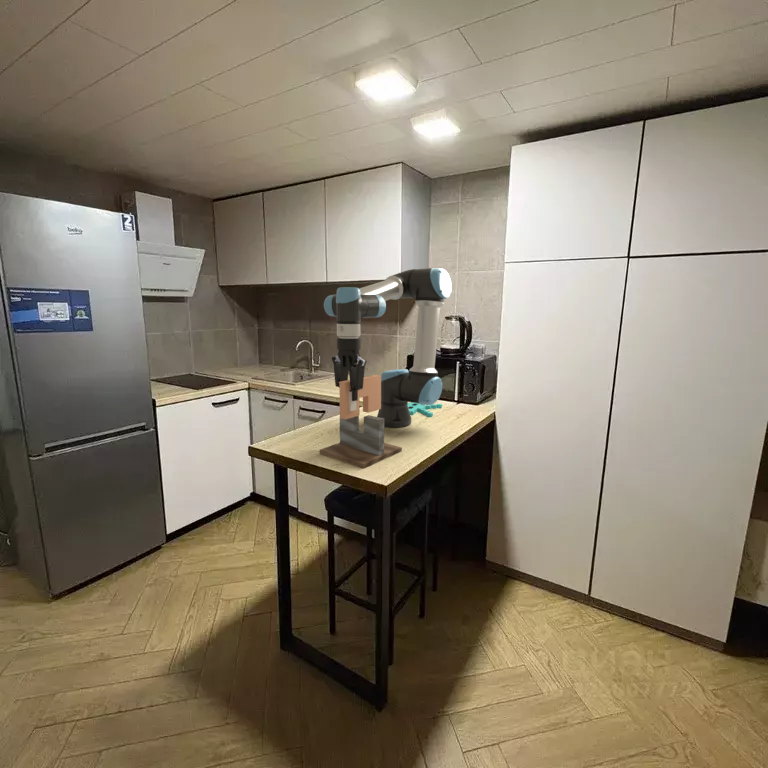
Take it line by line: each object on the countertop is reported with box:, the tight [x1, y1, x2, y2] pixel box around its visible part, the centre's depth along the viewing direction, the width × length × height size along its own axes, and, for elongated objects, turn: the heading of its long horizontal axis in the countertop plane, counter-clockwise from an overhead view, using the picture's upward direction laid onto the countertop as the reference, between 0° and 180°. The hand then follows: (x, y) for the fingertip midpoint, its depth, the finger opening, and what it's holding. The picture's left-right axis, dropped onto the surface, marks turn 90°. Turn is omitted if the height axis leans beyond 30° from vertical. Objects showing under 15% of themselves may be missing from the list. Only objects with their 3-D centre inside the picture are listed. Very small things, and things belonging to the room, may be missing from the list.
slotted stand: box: [319, 414, 403, 469], centre depth 143 cm, size 20×20×14 cm
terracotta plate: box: [338, 374, 381, 420], centre depth 140 cm, size 18×2×12 cm, turn 141°
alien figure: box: [408, 402, 443, 418], centre depth 203 cm, size 20×2×20 cm
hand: (349, 409), depth 137 cm, fingers closed on terracotta plate, 2 cm apart
